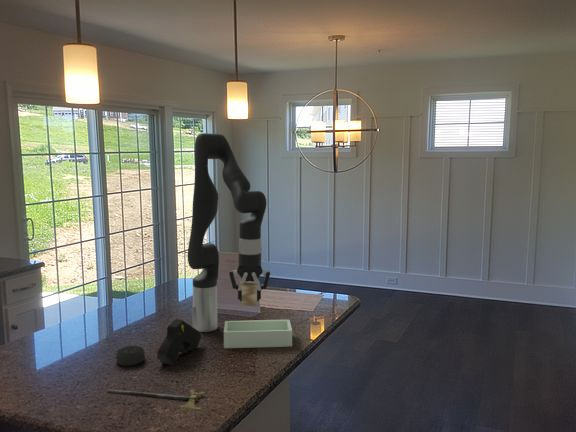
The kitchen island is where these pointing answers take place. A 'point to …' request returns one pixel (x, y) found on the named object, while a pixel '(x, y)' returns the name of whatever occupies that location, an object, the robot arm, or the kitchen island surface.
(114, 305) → the kitchen island surface
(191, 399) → the decorative axe
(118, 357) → the smart speaker
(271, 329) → the tub
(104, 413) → the kitchen island surface
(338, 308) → the kitchen island surface
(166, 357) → the taser
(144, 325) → the kitchen island surface
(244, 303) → the block
